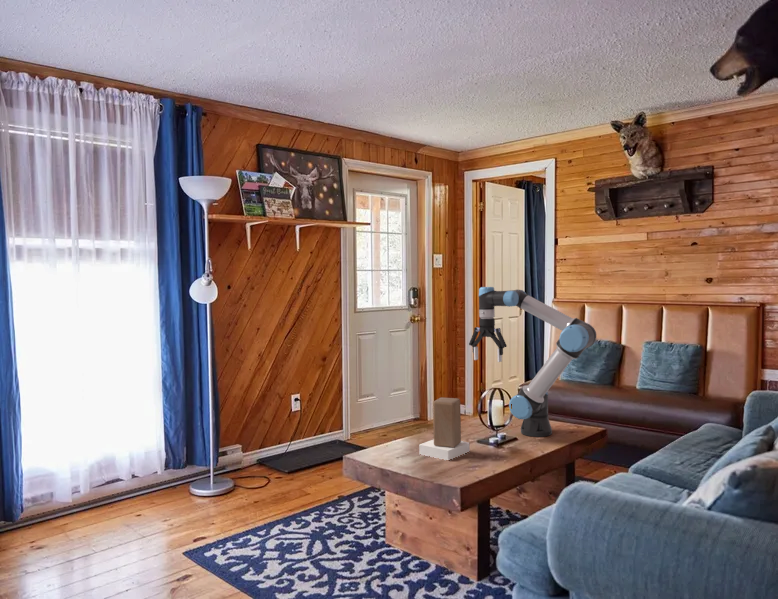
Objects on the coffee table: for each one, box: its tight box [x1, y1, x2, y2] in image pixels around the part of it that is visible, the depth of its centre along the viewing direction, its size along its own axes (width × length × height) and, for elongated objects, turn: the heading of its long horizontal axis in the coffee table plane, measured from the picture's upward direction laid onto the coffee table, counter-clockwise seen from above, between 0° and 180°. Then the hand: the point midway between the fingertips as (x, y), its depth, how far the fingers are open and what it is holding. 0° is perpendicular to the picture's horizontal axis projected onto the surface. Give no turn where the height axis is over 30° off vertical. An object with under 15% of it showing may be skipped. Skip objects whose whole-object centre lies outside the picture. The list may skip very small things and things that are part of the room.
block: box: [432, 396, 462, 447], centre depth 272 cm, size 10×10×20 cm
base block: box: [418, 438, 471, 461], centre depth 274 cm, size 16×16×5 cm
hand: (487, 360), depth 303 cm, fingers open, 13 cm apart
